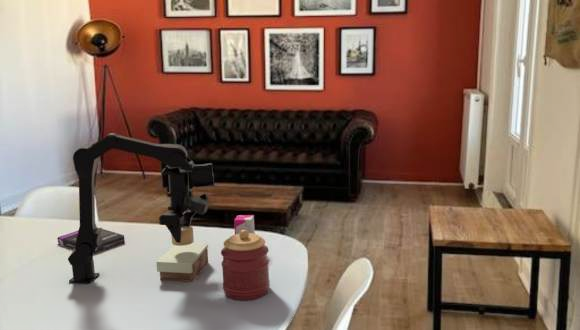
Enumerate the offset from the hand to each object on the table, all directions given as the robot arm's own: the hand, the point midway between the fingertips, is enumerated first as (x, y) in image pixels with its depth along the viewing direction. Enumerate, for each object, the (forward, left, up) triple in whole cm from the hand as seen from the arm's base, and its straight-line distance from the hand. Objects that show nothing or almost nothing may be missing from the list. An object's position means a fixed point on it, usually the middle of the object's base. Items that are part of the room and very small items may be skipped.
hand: (182, 238), depth 164 cm
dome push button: (0, 0, -1) cm, 1 cm away
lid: (-1, 0, -7) cm, 7 cm away
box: (+20, +42, -11) cm, 48 cm away
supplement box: (+19, -14, -11) cm, 26 cm away
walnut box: (0, 0, -10) cm, 10 cm away
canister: (-11, -22, -11) cm, 27 cm away
